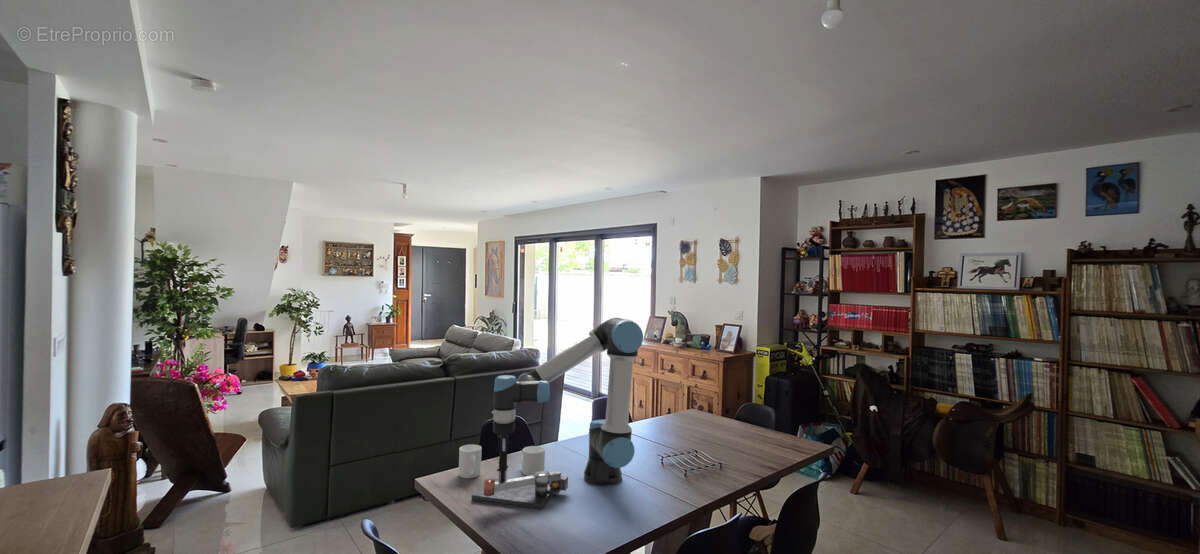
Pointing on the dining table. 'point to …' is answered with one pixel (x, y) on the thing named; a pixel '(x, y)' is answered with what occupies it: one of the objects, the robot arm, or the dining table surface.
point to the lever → (521, 482)
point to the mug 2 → (532, 460)
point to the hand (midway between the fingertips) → (502, 488)
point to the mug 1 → (470, 461)
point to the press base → (523, 495)
